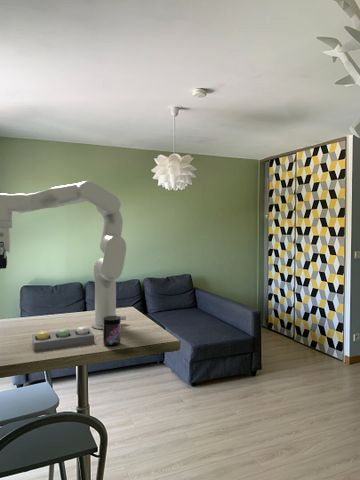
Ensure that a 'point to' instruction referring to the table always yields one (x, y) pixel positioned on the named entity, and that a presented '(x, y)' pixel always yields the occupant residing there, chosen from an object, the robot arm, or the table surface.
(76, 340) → the button panel
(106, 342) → the supplement container
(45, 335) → the mustard button
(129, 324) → the table surface
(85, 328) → the white button
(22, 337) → the table surface
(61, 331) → the green button
